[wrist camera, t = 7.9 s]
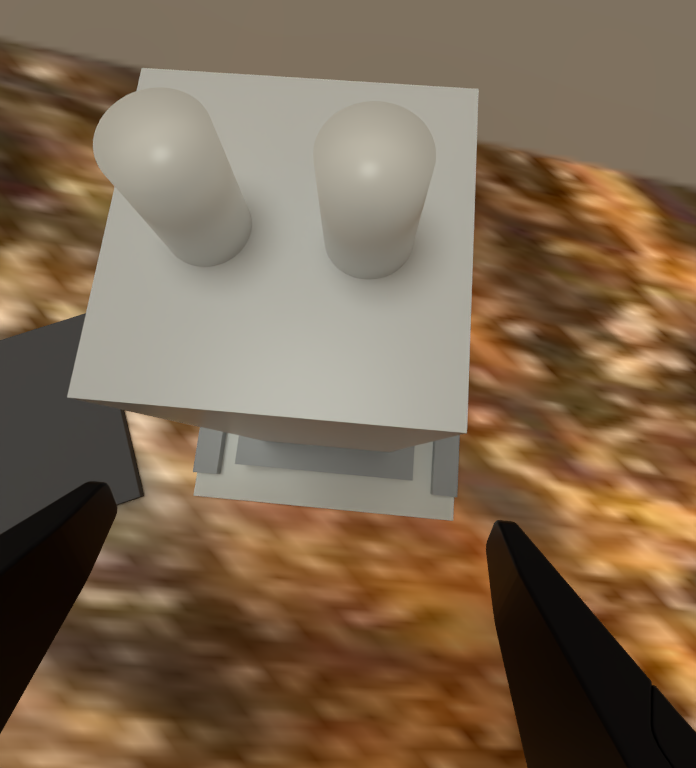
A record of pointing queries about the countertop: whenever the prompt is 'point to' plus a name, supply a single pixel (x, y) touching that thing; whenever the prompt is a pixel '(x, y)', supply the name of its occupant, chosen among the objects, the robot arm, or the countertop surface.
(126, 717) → the countertop surface
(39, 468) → the pad
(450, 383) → the plug
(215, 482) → the port
